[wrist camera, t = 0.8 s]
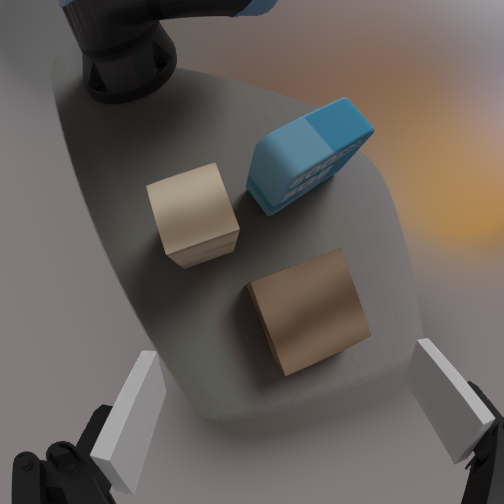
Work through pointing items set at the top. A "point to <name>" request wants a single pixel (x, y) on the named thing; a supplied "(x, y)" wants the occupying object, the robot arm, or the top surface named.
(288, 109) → the top surface
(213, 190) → the birch block
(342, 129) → the data package
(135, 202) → the top surface
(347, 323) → the block
